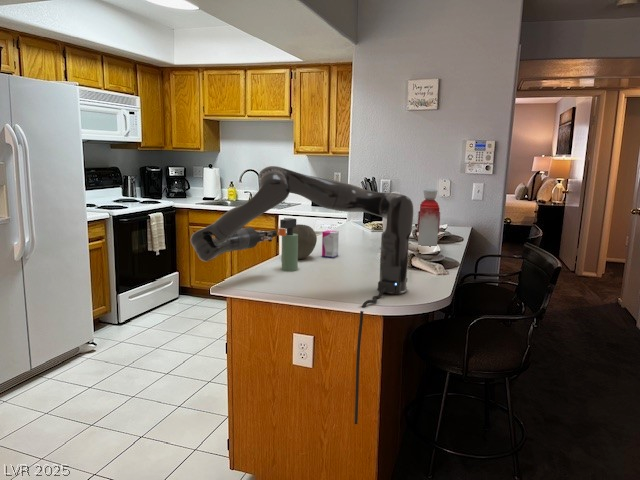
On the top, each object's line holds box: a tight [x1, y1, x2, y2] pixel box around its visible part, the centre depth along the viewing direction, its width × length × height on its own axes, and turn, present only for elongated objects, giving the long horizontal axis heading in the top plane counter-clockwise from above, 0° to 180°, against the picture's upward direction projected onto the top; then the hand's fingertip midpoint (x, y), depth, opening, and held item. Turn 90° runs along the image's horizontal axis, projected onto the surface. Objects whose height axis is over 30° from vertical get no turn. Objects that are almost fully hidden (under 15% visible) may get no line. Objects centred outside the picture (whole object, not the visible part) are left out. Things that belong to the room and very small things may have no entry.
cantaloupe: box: [293, 223, 318, 260], centre depth 213 cm, size 14×14×15 cm
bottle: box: [416, 188, 441, 247], centre depth 230 cm, size 14×10×30 cm
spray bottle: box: [279, 217, 299, 272], centre depth 192 cm, size 8×6×20 cm
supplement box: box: [321, 230, 340, 259], centre depth 218 cm, size 6×6×12 cm
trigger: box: [278, 228, 287, 237], centre depth 188 cm, size 1×3×3 cm, turn 53°
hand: (275, 233), depth 185 cm, fingers closed
